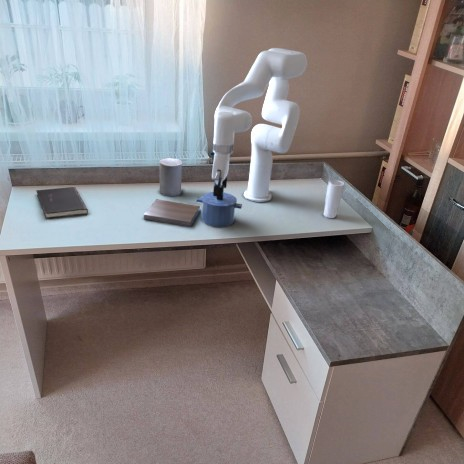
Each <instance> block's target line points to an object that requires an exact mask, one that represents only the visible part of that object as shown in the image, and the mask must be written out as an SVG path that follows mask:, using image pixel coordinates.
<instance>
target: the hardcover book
mask: <svg viewBox="0 0 464 464" xmlns="http://www.w3.org/2000/svg"><path fill="white" fill-rule="evenodd" d="M35 192H36V196H37V199H38V202H39V205H40V208H41V210H42V213H43V215H44V217H45V219H46V220H47V219H57V218H64V217H65V218H66V217H72V216H73V217H74V216H82V215H88V214H89V209H88V208H87V206H86V204H85V202H84V200H83V198H82V197H81V195H80V193H79V191H78V190H77V187H75V186H69V187H67V186H66V187H56V188H45V189H36V190H35Z"/></svg>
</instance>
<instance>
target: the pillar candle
mask: <svg viewBox="0 0 464 464" xmlns="http://www.w3.org/2000/svg"><path fill="white" fill-rule="evenodd" d="M182 169H183V162H182V161H181V160H180V159H179V158H172V157H167V158H162V159H160V160H159V193H160V194H161V195H163V196H167V197H176V196H179V195H181V194H182V174H183V173H182Z"/></svg>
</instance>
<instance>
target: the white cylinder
mask: <svg viewBox="0 0 464 464" xmlns="http://www.w3.org/2000/svg"><path fill="white" fill-rule="evenodd" d="M344 190H345V182H344V181H342V180H339V179H329V181H328V182H327V187H326V193H325V202H324V209H323V216H324V217H325V218H328V219H334V218H336V217H337V212H338V209H339V206H340V203H341V200H342V197H343V194H344Z"/></svg>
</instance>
